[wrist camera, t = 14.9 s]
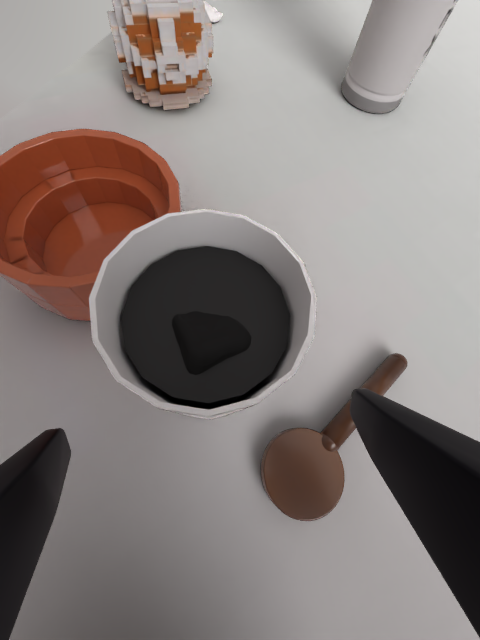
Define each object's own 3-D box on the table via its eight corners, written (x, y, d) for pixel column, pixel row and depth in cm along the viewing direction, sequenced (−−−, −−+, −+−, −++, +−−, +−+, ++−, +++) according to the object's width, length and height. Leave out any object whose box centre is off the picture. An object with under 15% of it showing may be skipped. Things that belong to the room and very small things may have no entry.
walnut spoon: (370, 335, 20) (380, 329, 19) (423, 384, 19) (436, 380, 18) (244, 468, 16) (246, 470, 15) (302, 537, 15) (309, 546, 14)
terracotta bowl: (177, 330, 18) (166, 295, 14) (-2, 318, 18) (-78, 276, 13) (194, 200, 23) (190, 140, 18) (49, 186, 22) (5, 119, 17)
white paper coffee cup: (281, 396, 18) (360, 353, 8) (177, 448, 16) (130, 466, 7) (235, 305, 20) (257, 187, 10) (138, 343, 18) (61, 244, 9)
